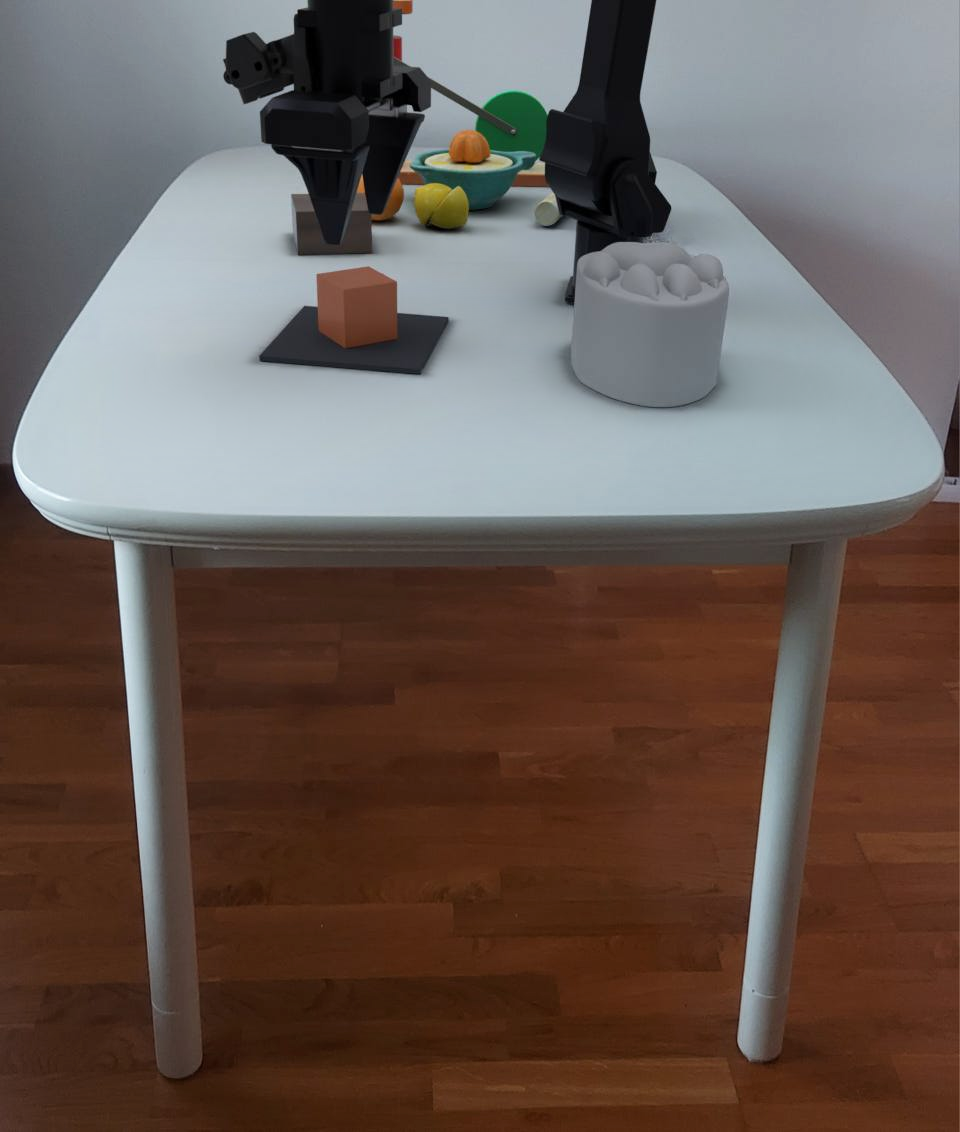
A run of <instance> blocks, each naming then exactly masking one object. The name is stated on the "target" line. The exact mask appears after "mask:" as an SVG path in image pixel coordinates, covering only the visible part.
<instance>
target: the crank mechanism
mask: <svg viewBox="0 0 960 1132" xmlns="http://www.w3.org/2000/svg"><path fill="white" fill-rule="evenodd" d="M413 2H414V1H413V0H393V8H402V15H411V14H413V11H414V10H413V9H414V6H413V4H414V3H413ZM393 65H394V66H408V67H412V66H411V65H410V64H407V63H406V62H404V61H403V37H402V36H401V35H395V34H393ZM426 76H427V77H428V78H429V79H430V80H431V90H434V91H436V92H437V93H439V94H441V95H442V96H444V97H446V98H447V99H449V100H451V101H453V102H454V103H455V104H458V105H460V106H461V107H463V108H465V109H466V110H468V111H469V112H471V113H473V114H475V115H476V120H475V124H474V125H475V126H474V131H477V132H479V133H480V134H482V135H483V136H484V137H485V139H486V140H487V142H488V145H489V148H490V150H494V151H501V152H517V151H526V152H533V153H535V154H536V160H535V164H534V166H533V167H532V168H530V169H528V170H521V171H520V172H518V173H517V176H516V178H515V180H514V182H513V184H512V186H511V187H542V188H543V187H545V188H547V187H548V188H550V186H549V184H547V183H546V180H545V162H536V161H538V160H539V158H540V155H541V153H542V151H543V149H544V145H545V141H546V119H547V116H548V113H547V110H546V109H545V106H543V104H542V103H541V102H540V100H538V99H537V98H536V97H535V96H533V95H532V94H530V93H528V92H525V91H522V90H516V89H511V90H509V89H508V90H504V91H500V92H498V93H496V94H495V95H493V96H491V97H490V98H489V99H487V101H485V103H484V104H483V105H482V106H481V107H480V106H478V105H477V104H475V103H473V102H472V101H470V100H469V99H467V98H465V97H463V96H461V94H459V93H456V92H454V90H451V89H449V87H446V86H445V85H443V84H441V83H440V82H438V81H436V80H434V79H433V78H431V77H429V76H428V75H426ZM411 162H414V159H405V162H404V164H403V166H402V169H401V171H400V173H399V176H398V178H399V180H400V182H401V184H402V185H425V184H424V182H423V180H422V178H421V176H420V175H419V174H417V173H416V172H415V171H414V170H412V169H411V168H410V163H411Z"/></svg>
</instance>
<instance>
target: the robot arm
mask: <svg viewBox="0 0 960 1132" xmlns="http://www.w3.org/2000/svg"><path fill="white" fill-rule="evenodd" d="M656 5H657V0H591V2H590V9H589V16H588V22H587V29H586V35H585V41H584V49H583V55H582V60H581V61H582V62H581V68H580V74H579V80H578V81H579V82H578V86H577V88H576V89H577V90H576V91H575V93H574V95H573V96H572V98H571V99H570V101H569V102H568V104H567V105H566V106H565V108H564V110H563V111H561V110H558V109H555V108H554V109H553V108H551V109H550V110H549V111H548V113H547V115H548V116H547V119H546V141H545V145H544V149H543V151H542V153H541V155H540V157H539V158H538V160H539V161H540V162H541V163H545V180H546V183H547V184H549V186H550V187H549V188H550V190H551V192H553V193H554V194H555V197H556V201H557V206H558V210H559V214H560V215H562V217H567V218H571V219H572V220H575V221H576V225H575V226H576V227H575V228H576V229H575V241H574V255H573V256H574V257H573V267H572V268H573V271H572V275H571V276H570V277H569V281H568V283H567V287H566V290H565V294H564V302H565V303H570V304H574V302H575V288H576V274H577V263H578V260H579V259H580V258H581V257H582V256H584V255H586V254H589V253H593V252H598V251H602V250H603V249H604V248H606V247H607V246H609V245H611V244H613V243H617V242H638V243H644V239H645V238H650V237H652V235H653V234H658V233H659V234H660V233H663V232H664V230H665V228H666V225H667V224H668V221H669V217H670V215H671V212H672V205H671V203H670V202H669V201H668V199H667V198H666V197H665V195H664V194H663V193H662V191H661V190H660V189H659V187H658V186H657V184H656V182H655V183H654V182H653V180H652V179H651V178H650V176H649V158H650V153H651V136H650V135H651V134H650V132H649V128H648V124H647V120H646V118H645V114H644V110H643V107H642V103H641V93H642V86H643V81H644V74H645V68H646V63H647V57H648V52H649V46H650V39H651V33H652V29H653V22H654V17H655V11H656ZM296 10H297V11H296V12H297V13H295V14H294V15H293V34H289V35H287V36H284V37H281V38H278V39H275V40H271V41H269V42H267V43H266V42H265V41H264V40H263V38H262V37H261V36H260V35H259V34H258V33H256V32H255V31H251V32H247V33H243V34H239V35H237V36H235V37H232V38H229V39H227V40H226V41H225V58H223V59H222V61H223V64H224V67H225V70H224V71H223V75H222V77H223V80H224V82H225V83H226V84H227V85H232V86H233V87H234V88H236V89H237V90H238V93H239V95H240V98H241V100H242V101H241V102H242V103H243V105H248V104H250V103H254V102H256V101H258V100H259V99H260V100H261V99H263V98H266V97H269V96H272V95H274V94H277V93H280V92H283V91H284V90H285V88H287V87H289V86H293V89H292V90H289V91H287V92H284V93H281V94H278V95H275V96H273V97H271V98H270V99H269V100H268V102H267V103H266V104H265V105H264V106H263V107H262V108H261V110H260V111H259V123H260V139H261V143H263V144H265V145H270V147H271V149H272V150H273V152H274V153H275V154H276V155H280V156H283V157H285V159H286V160H288V161H289V162H290V163H291V164H292V165H293V166H295V167H296V169H297V170H298V171H299V173H300V176H301V178H302V180H303V183H304V185H305V188H306V190H307V194H309V196H310V199H311V202H312V205H313V208H314V211H315V214H316V217H317V220H318V223H319V226H320V229H321V232H322V235H323V238H324V241H325V243H327V244H331V245H339V244H340V243H341V242H342V239H343V236H344V233H345V230H346V227H347V224H348V221H349V217H350V214H351V210H352V207H353V203H354V200H355V196H356V193H357V189H358V186H359V182H360V179H361V175H362V176H363V183H364V190H365V196H366V202H367V207H368V211H369V213H370V214H377V215H381V214H382V213H383V212H384V210H385V208H386V205H387V203H388V200H389V198H390V195H391V193H392V191H393V188H394V186H395V183H396V181H397V178H398V176H399V173H400V171H401V169H402V166H403V164H404V162H405V160H407V158H408V154H409V152H410V150H411V148H412V145H413V143H414V141H415V138H416V136H417V134H418V132H419V130H420V127H421V126H422V123H423V122H424V121H425V118H426V115H425V113H423V112H424V111H426V110H428V109H430V108H431V107H432V88H431V80H430V79H429V78H430V77H429V76H428V75H427V74H426V73H425V72H424V70H422V68H421V67H420V66H411V67H408V66H394V65H393V35H394V28H395V27H399V26H402V25H403V14H402V8H393V0H307V7H303V8H299V9H296ZM427 76H428V77H429V78H428V77H427ZM408 106H411V108H412V111H413V112H408Z"/></svg>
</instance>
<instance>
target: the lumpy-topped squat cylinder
mask: <svg viewBox="0 0 960 1132" xmlns="http://www.w3.org/2000/svg"><path fill="white" fill-rule="evenodd" d="M729 297H730V287H729V283H728V280H727V278H726V277H725V275H724V268H723V264H722V262H721V260H720V259H719V258H718V257H716V256H715V255H713V254H710V253H700V254H698V255H693V254H690V253H688V251H686V249H684V248H683V247H681V246H680V245H678V244H676V243H673V242H650V243H644V242H643V243H638V242H617V243H613V244H611V245H609V246H607V247H606V248H604V249H603V250H602V251H598V252H593V253H589V254H586V255H584V256H582V257H581V258H580V259H579V260H578V263H577V274H576V288H575V302H574V303H573V304H574V305H573V317H572V318H573V319H572V331H571V346H570V364H571V368H572V370H573V373H574V374H575V377H576V378H577V380H579V382H580V383H581V384H583V385H584V386H586V387H588V388H590V389H592V390H593V391H595V392H597V393H600V394H601V395H604V396H606V397H608V398H611V399H614V400H617V401H620V402H623V403H628V404H630V405H631V404H632V405H636V406H642V407H648V408H672V407H673V408H674V407H680V406H684V405H687V404H691V403H695V402H697V401H699V400H702V399H703V398H705V397H706V396H707V395H708V394H709V393H710V392H712V390H713V389H714V388H715V387H716V386H717V384H718V375H719V370H720V369H719V368H720V361H721V354H722V347H723V340H724V333H725V327H726V319H727V311H728V305H729V304H728V303H729Z"/></svg>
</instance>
